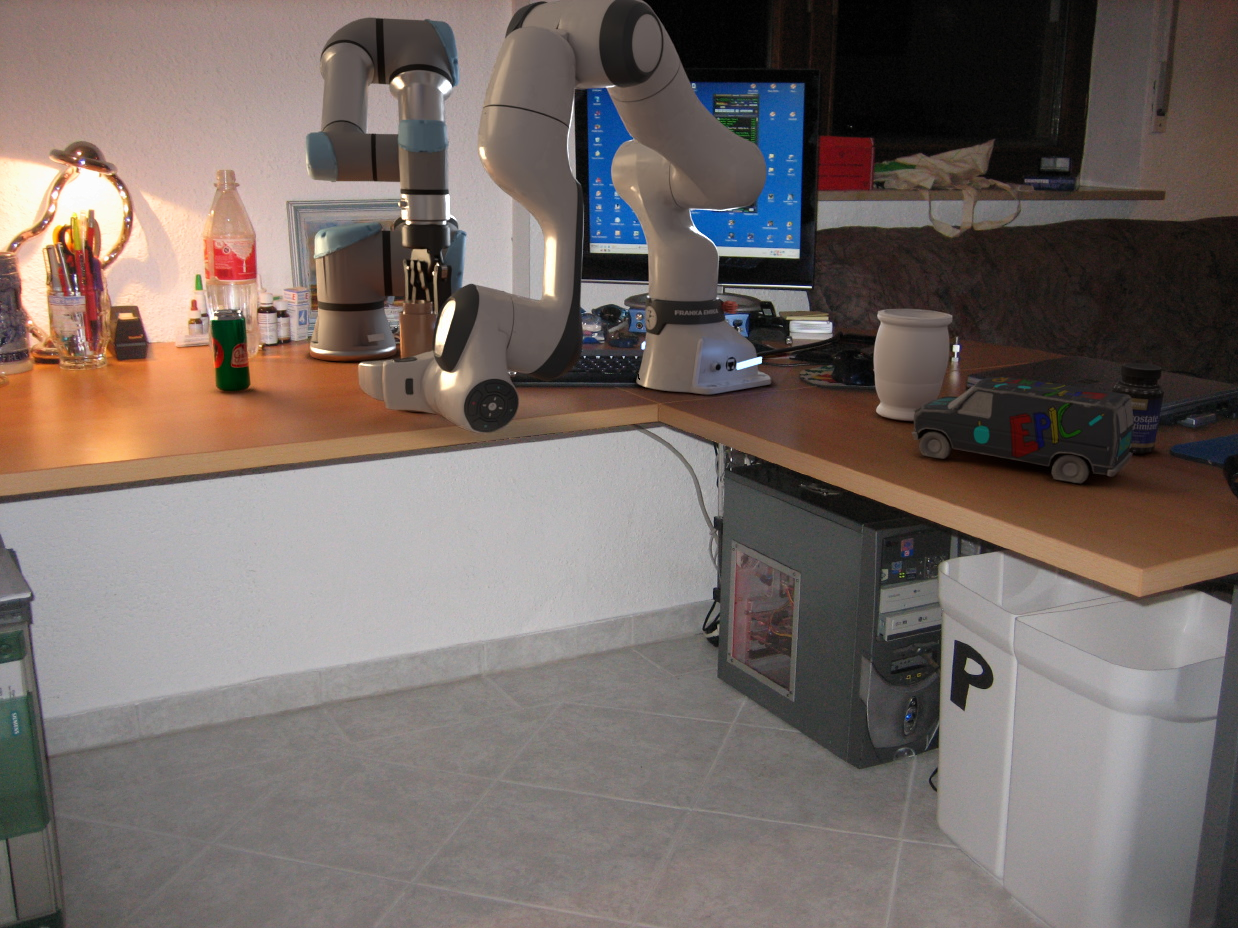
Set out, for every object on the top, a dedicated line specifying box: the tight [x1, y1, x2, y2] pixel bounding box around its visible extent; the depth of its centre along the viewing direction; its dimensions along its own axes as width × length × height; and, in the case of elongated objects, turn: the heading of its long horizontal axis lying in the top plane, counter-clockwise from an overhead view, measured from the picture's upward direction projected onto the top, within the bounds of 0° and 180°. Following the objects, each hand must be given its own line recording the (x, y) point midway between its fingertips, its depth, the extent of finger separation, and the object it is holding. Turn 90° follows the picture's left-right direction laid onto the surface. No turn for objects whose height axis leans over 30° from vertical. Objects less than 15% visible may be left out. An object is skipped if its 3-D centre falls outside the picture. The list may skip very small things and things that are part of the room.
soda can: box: [209, 308, 251, 393], centre depth 163 cm, size 5×5×12 cm
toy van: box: [911, 376, 1135, 484], centre depth 132 cm, size 11×25×10 cm, turn 54°
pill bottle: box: [1111, 362, 1165, 455], centre depth 139 cm, size 6×6×11 cm
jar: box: [873, 308, 953, 422], centre depth 154 cm, size 11×10×15 cm
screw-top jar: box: [398, 300, 437, 413], centre depth 154 cm, size 5×5×16 cm
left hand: (430, 368), depth 174 cm, fingers closed on lid, 6 cm apart
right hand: (417, 363), depth 155 cm, fingers closed on screw-top jar, 5 cm apart
